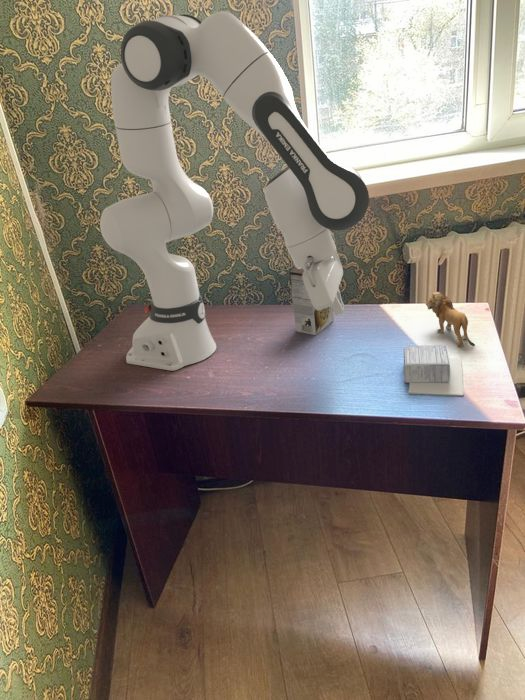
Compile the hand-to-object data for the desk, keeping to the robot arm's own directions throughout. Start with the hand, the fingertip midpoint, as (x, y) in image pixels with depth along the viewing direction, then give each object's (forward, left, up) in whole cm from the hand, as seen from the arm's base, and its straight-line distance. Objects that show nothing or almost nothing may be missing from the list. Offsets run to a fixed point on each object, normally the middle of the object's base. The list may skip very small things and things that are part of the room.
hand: (340, 311), depth 110 cm
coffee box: (-11, +21, -14) cm, 27 cm away
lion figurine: (+22, +17, -14) cm, 31 cm away
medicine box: (+12, -1, -11) cm, 17 cm away
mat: (+19, -1, -14) cm, 23 cm away
